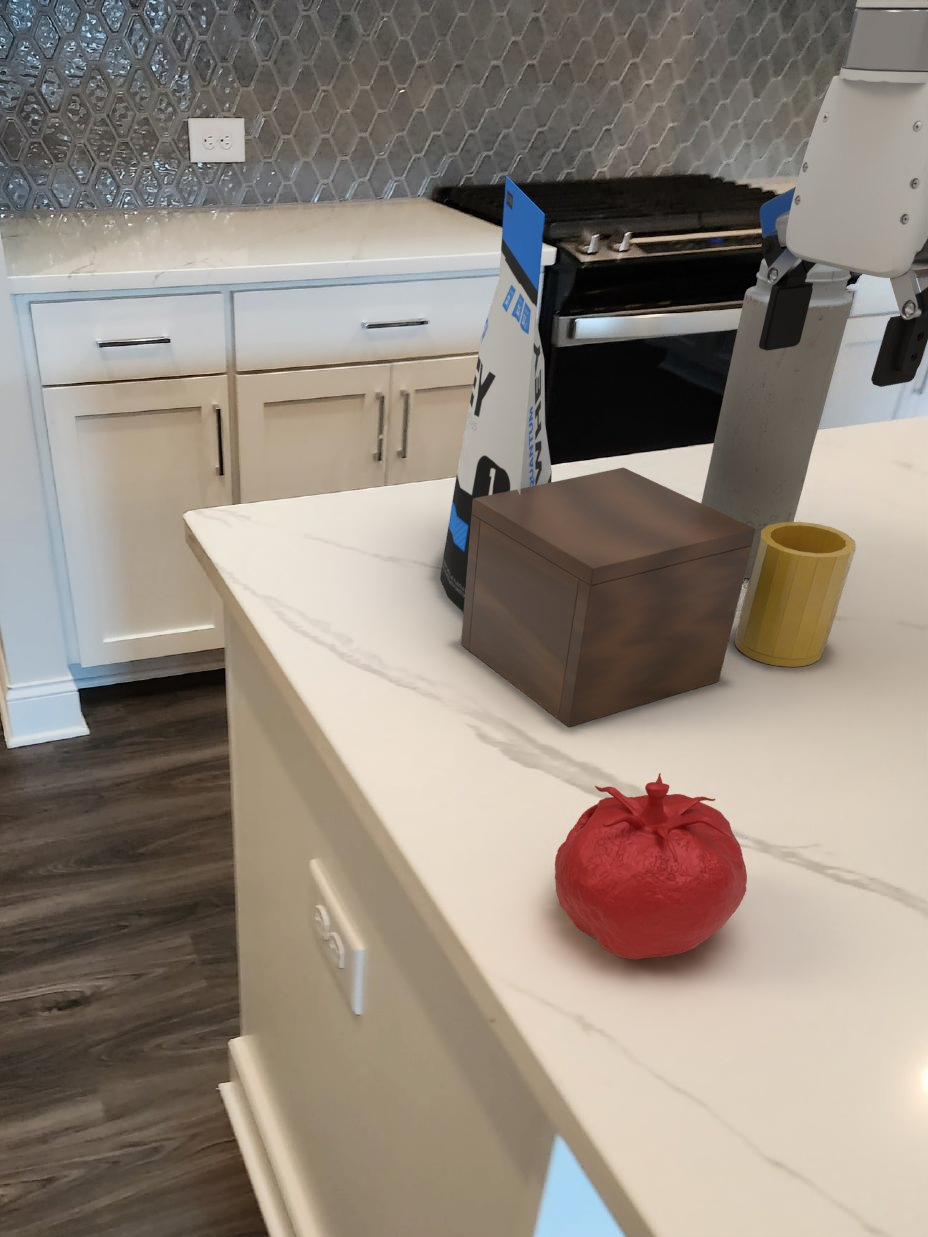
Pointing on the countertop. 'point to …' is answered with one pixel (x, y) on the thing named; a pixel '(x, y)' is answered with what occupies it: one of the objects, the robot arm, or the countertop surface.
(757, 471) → the thermos bottle
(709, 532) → the walnut box
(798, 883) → the countertop surface
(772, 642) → the cup
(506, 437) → the protein powder
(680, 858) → the pomegranate
